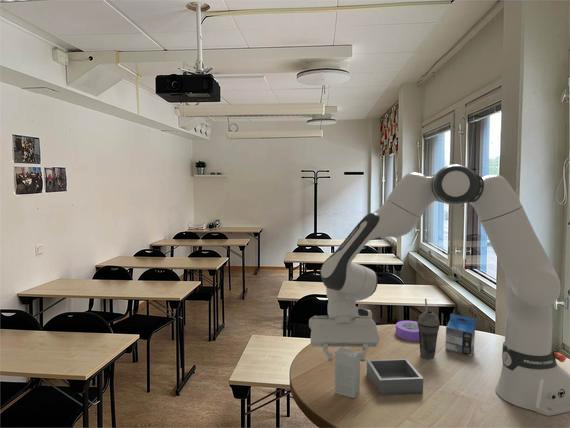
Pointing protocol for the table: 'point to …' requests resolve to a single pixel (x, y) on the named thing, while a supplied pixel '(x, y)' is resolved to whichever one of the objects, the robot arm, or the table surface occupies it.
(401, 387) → the box
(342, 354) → the skincare box
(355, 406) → the table surface
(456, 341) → the label tape cartridge
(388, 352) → the table surface
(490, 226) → the robot arm
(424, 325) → the beverage cup
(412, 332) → the masking tape
